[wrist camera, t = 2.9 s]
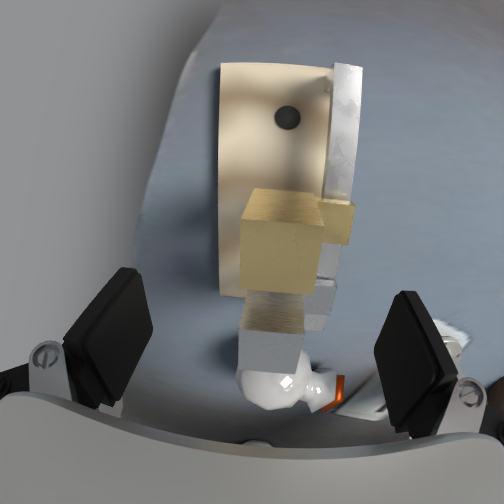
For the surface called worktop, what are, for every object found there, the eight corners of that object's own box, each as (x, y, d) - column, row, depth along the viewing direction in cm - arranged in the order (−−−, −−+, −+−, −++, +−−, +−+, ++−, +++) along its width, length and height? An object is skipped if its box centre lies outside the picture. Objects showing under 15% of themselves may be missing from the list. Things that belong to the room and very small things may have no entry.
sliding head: (335, 223, 25) (364, 298, 15) (258, 216, 25) (239, 288, 15) (341, 180, 23) (382, 232, 13) (261, 172, 23) (240, 218, 13)
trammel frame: (318, 300, 30) (328, 394, 19) (255, 295, 31) (238, 388, 19) (347, 76, 19) (402, 43, 8) (266, 68, 20) (248, 21, 9)
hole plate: (325, 296, 31) (326, 305, 30) (222, 287, 32) (219, 296, 31) (354, 75, 20) (359, 73, 19) (224, 66, 21) (220, 62, 20)
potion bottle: (247, 316, 36) (329, 353, 40) (214, 378, 34) (299, 405, 39) (275, 336, 27) (367, 373, 31) (231, 413, 26) (330, 435, 30)
